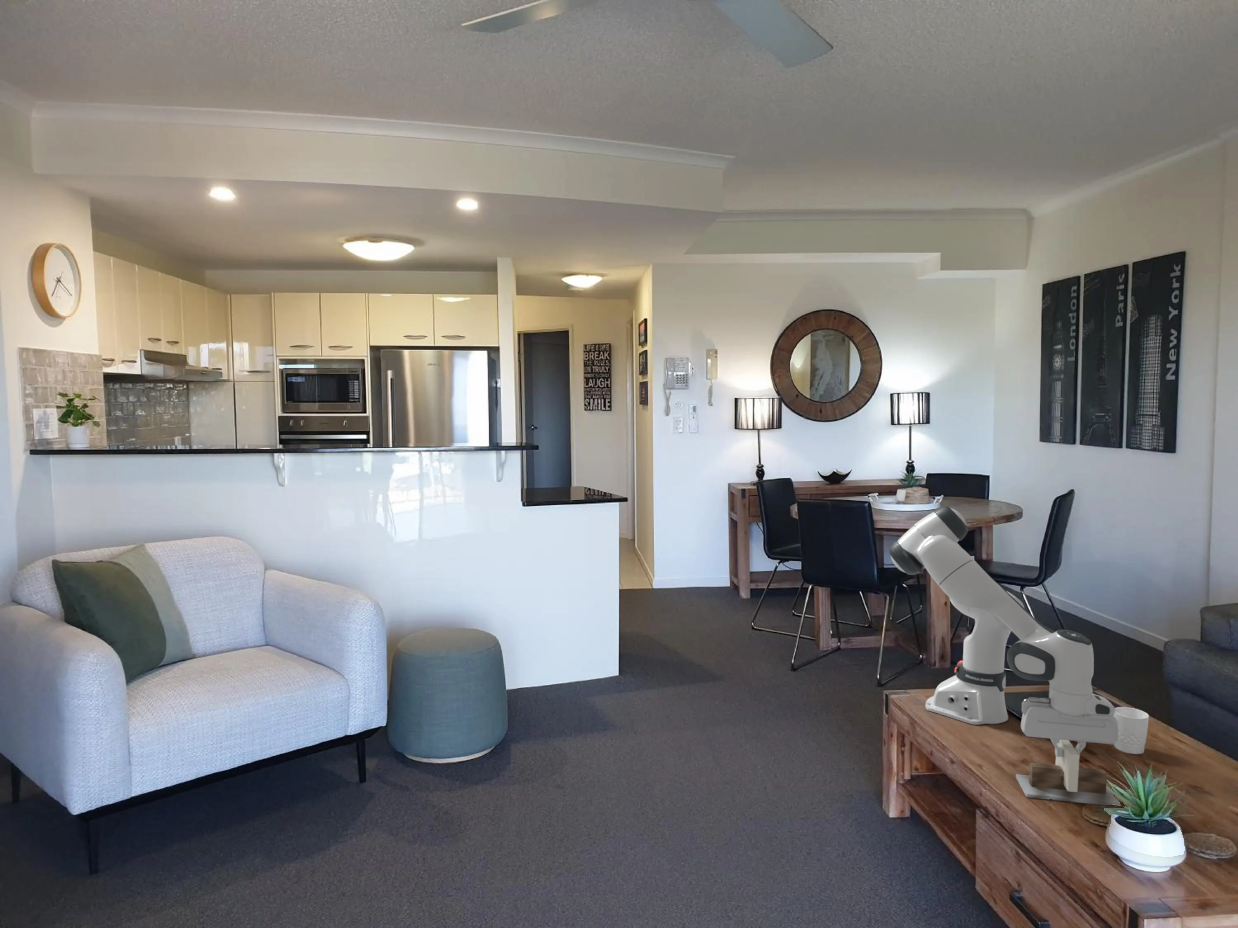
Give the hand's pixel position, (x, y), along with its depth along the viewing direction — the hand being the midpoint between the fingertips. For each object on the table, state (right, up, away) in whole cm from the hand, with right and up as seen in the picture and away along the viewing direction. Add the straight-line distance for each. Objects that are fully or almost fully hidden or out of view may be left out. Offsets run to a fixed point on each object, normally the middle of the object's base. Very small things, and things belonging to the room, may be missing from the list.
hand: (1067, 756), depth 189 cm
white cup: (+30, -7, +23) cm, 38 cm away
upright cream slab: (0, -6, +1) cm, 6 cm away
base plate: (0, -9, +1) cm, 9 cm away
